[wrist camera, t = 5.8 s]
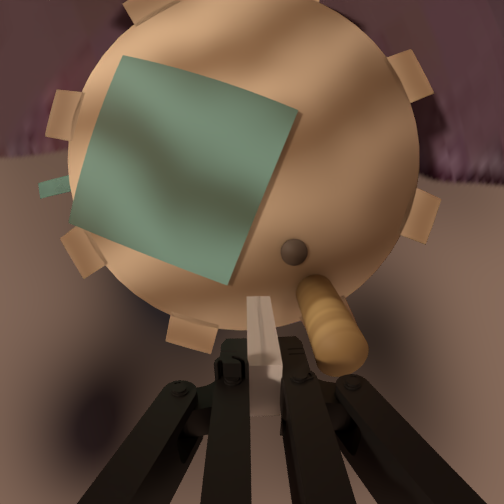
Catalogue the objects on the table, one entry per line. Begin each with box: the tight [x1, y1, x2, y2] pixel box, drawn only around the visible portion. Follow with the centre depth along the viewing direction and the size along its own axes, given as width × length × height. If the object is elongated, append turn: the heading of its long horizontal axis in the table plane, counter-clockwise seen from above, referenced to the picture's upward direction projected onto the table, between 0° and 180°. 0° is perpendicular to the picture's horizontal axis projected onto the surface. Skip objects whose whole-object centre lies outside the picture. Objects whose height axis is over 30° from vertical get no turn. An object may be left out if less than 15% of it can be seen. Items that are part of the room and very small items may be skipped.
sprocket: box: [45, 0, 441, 377], centre depth 15 cm, size 26×26×9 cm
